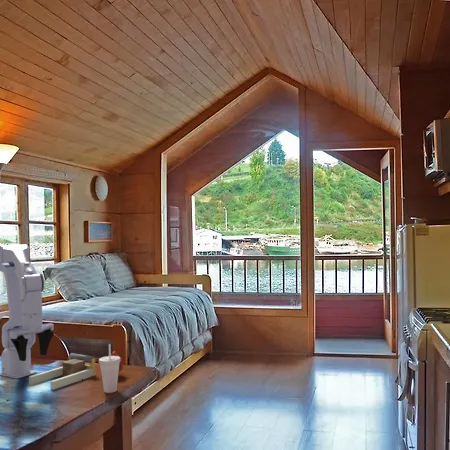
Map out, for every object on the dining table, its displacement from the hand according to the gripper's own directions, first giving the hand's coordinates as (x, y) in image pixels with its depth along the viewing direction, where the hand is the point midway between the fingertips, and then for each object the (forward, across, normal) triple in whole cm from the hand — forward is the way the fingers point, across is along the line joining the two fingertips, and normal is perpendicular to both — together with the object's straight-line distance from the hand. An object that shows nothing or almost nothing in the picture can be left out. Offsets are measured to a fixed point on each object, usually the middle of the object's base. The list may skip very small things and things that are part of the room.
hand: (33, 357), depth 161 cm
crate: (+10, +15, -1) cm, 18 cm away
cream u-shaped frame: (+9, +10, -1) cm, 14 cm away
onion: (+10, +21, -13) cm, 27 cm away
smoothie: (+10, +9, -23) cm, 27 cm away
